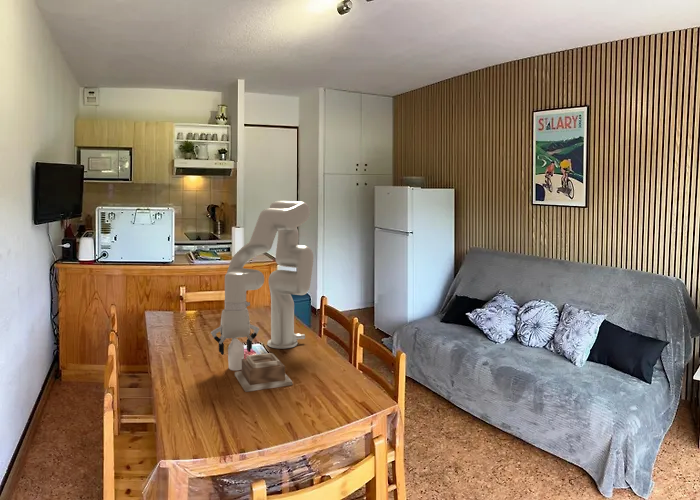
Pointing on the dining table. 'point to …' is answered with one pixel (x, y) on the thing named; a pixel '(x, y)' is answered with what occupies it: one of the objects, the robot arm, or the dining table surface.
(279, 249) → the robot arm
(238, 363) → the roll
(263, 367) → the tower base
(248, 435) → the dining table surface
